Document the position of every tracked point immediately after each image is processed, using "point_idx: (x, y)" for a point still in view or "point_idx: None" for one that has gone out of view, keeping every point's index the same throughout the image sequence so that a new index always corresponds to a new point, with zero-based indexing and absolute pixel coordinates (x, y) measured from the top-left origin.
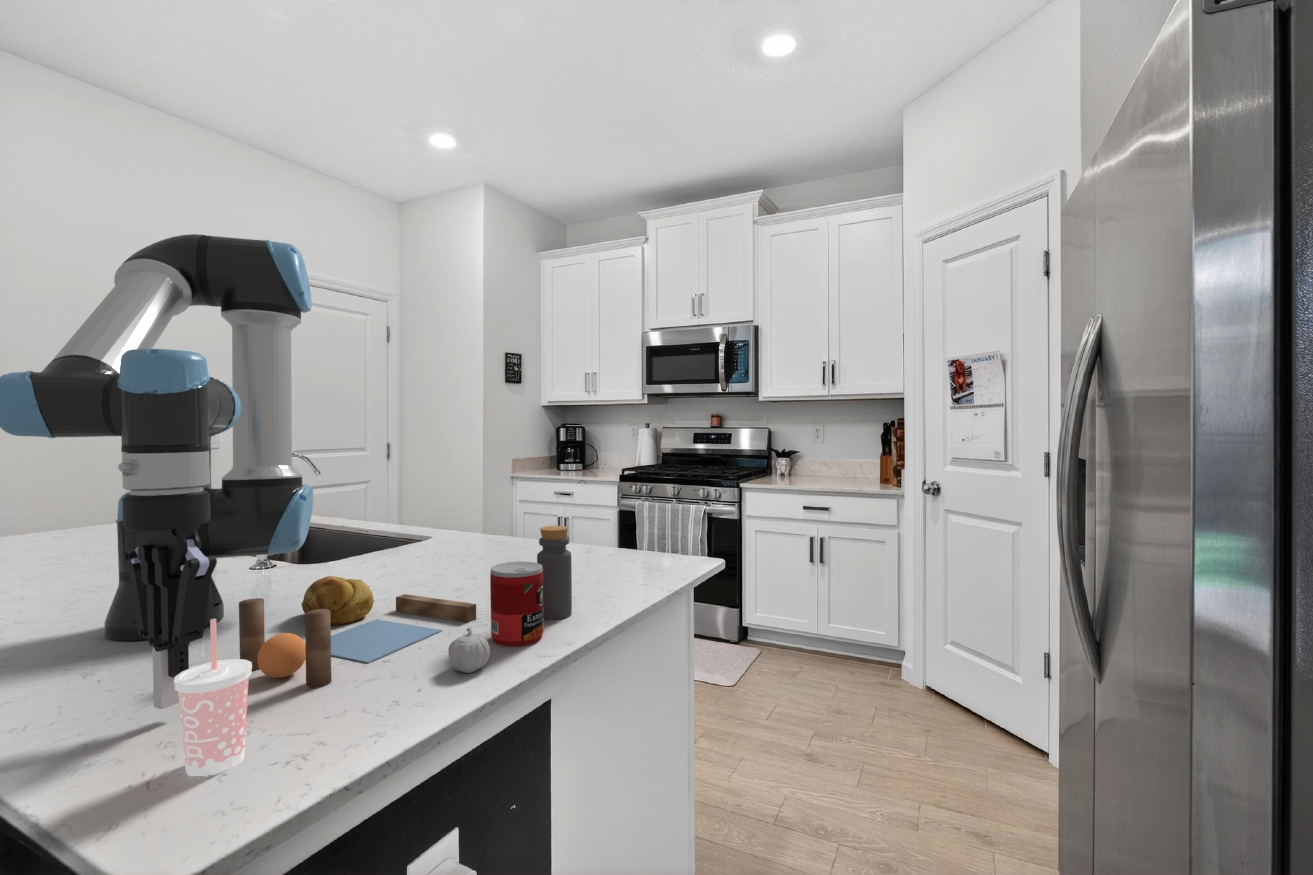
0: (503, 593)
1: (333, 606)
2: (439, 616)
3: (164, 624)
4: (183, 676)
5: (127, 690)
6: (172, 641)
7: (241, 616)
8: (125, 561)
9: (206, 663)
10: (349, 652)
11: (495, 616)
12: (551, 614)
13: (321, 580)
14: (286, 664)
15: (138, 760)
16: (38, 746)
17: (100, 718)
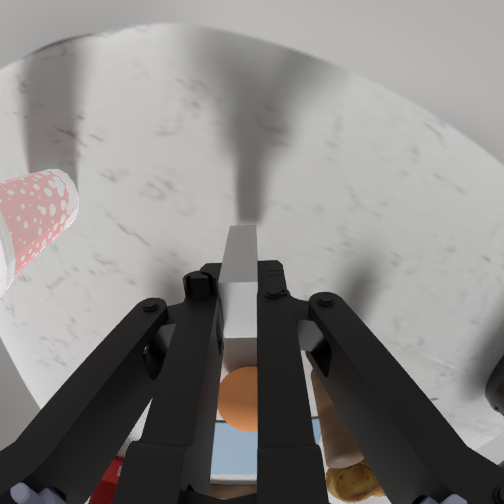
0: (103, 498)
1: (342, 472)
2: (247, 486)
3: (194, 332)
4: None
5: (428, 260)
6: (164, 303)
7: (344, 432)
8: (500, 475)
9: (5, 264)
10: (240, 430)
11: None
12: None
13: None
14: (219, 386)
15: (141, 147)
16: (345, 99)
17: (366, 189)
